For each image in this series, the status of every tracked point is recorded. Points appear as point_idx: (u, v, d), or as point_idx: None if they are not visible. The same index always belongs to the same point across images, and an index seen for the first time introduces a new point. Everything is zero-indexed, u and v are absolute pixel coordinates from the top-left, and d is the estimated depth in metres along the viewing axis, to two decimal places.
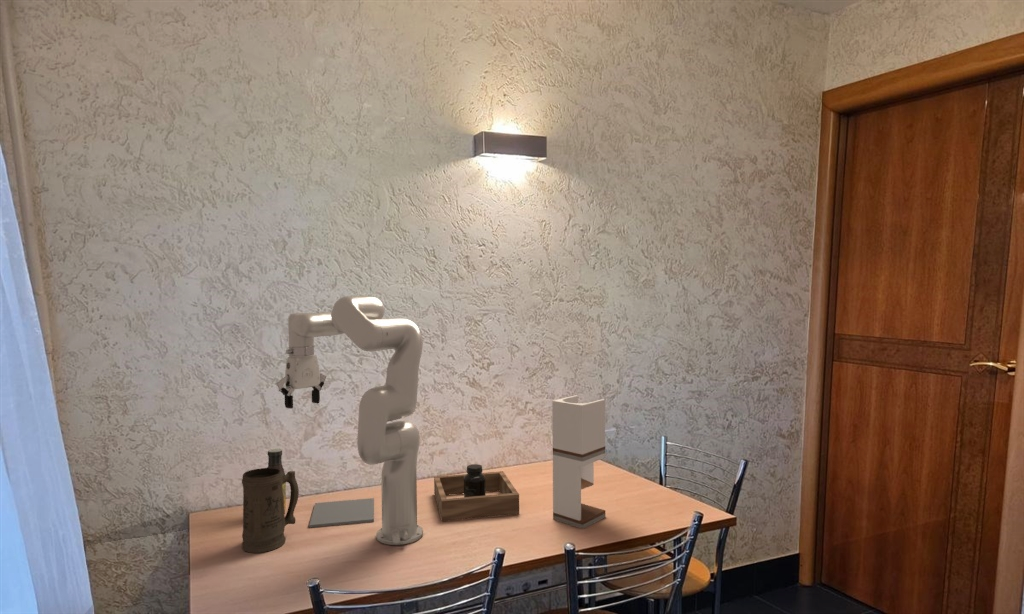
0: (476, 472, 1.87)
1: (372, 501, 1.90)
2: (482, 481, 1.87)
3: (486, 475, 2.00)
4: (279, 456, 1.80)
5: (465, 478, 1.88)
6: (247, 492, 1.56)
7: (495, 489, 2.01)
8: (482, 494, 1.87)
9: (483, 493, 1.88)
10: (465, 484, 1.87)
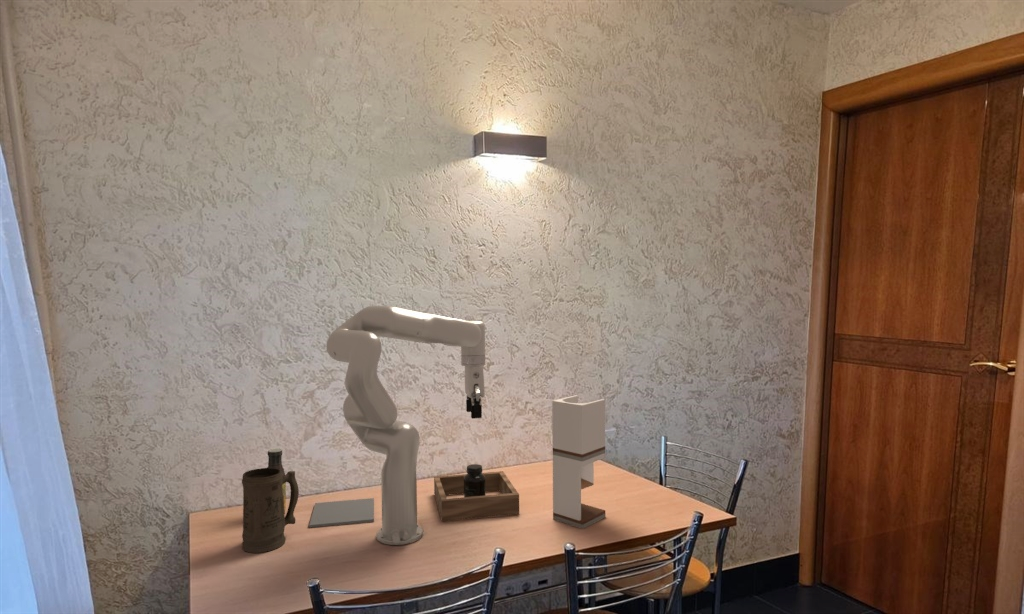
0: (476, 472, 1.87)
1: (372, 501, 1.90)
2: (482, 481, 1.87)
3: (486, 475, 2.00)
4: (279, 456, 1.80)
5: (465, 478, 1.88)
6: (247, 492, 1.56)
7: (495, 489, 2.01)
8: (482, 494, 1.87)
9: (483, 493, 1.88)
10: (465, 484, 1.87)
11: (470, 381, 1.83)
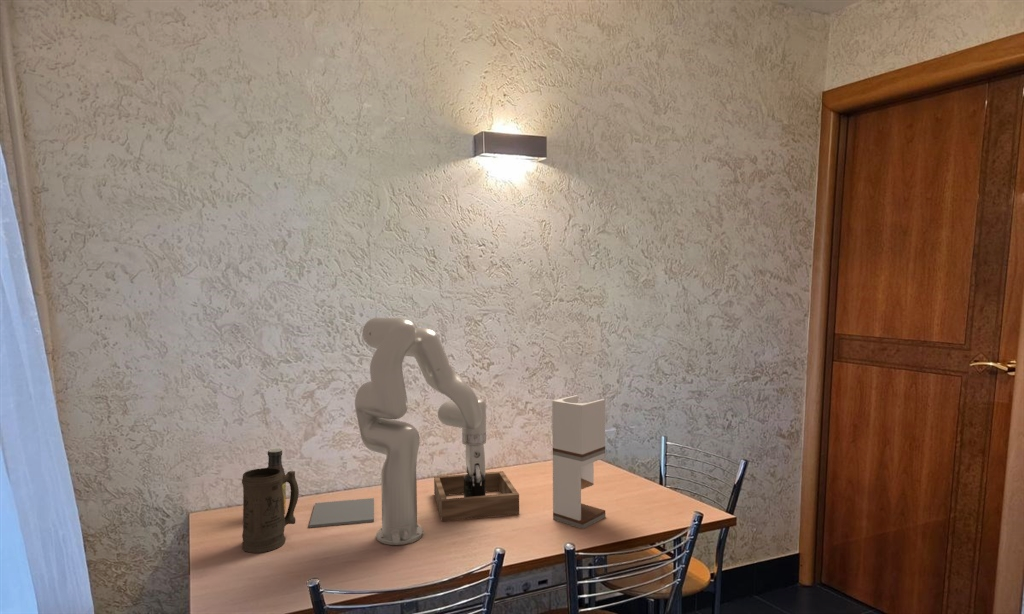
0: None
1: (372, 501, 1.90)
2: (482, 481, 1.87)
3: (486, 475, 2.00)
4: (279, 456, 1.80)
5: (465, 478, 1.88)
6: (247, 492, 1.56)
7: (495, 489, 2.01)
8: (482, 494, 1.87)
9: (483, 493, 1.88)
10: (465, 484, 1.87)
11: (471, 461, 1.84)
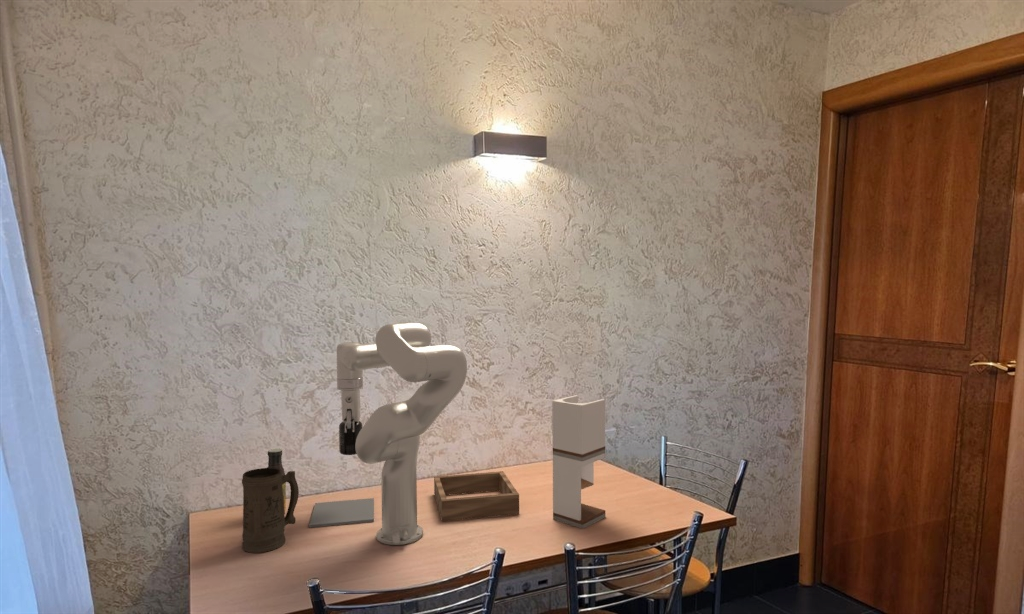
0: None
1: (372, 501, 1.90)
2: (356, 428, 1.80)
3: (486, 475, 2.00)
4: (279, 456, 1.80)
5: (340, 425, 1.81)
6: (247, 492, 1.56)
7: (495, 489, 2.01)
8: None
9: None
10: (339, 431, 1.80)
11: (343, 406, 1.77)
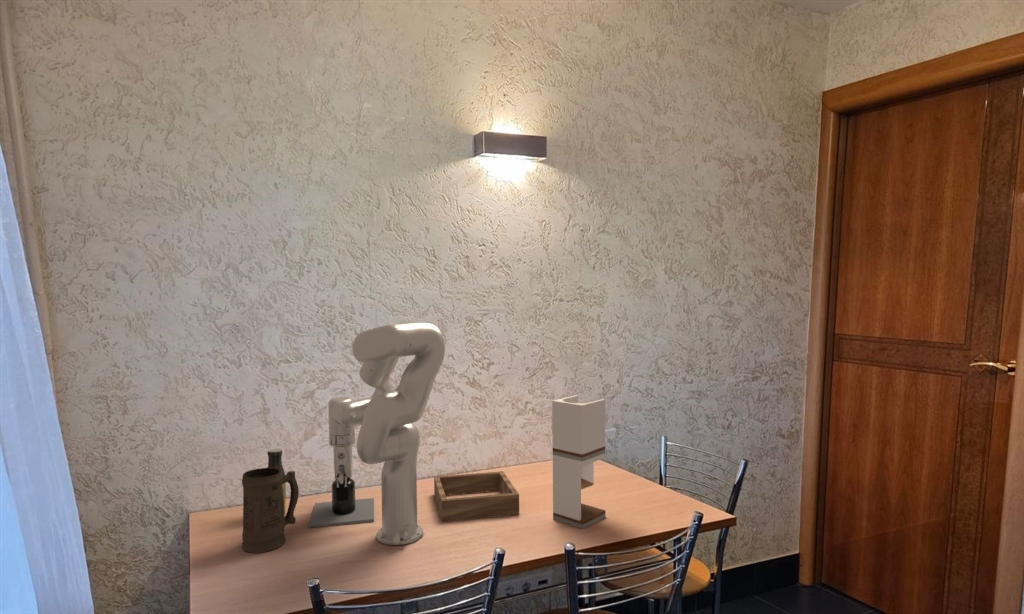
0: None
1: (372, 501, 1.90)
2: (349, 487, 1.80)
3: (486, 475, 2.00)
4: (279, 456, 1.80)
5: (332, 484, 1.80)
6: (247, 492, 1.56)
7: (495, 489, 2.01)
8: (349, 501, 1.80)
9: (352, 500, 1.81)
10: (332, 490, 1.80)
11: (335, 462, 1.77)
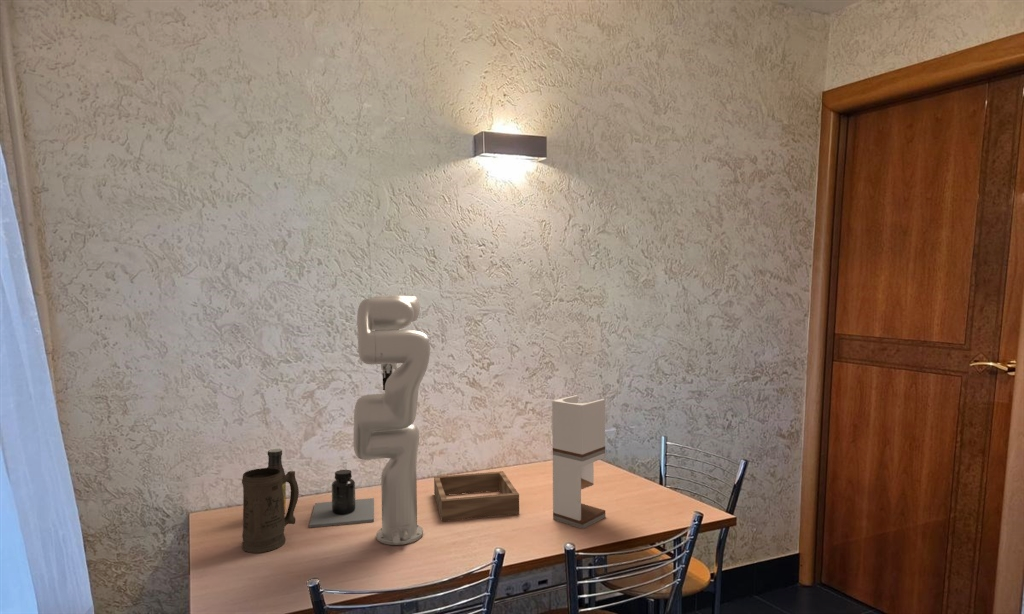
0: (343, 478, 1.80)
1: (372, 501, 1.90)
2: (349, 487, 1.80)
3: (486, 475, 2.00)
4: (279, 456, 1.80)
5: (332, 484, 1.80)
6: (247, 492, 1.56)
7: (495, 489, 2.01)
8: (349, 501, 1.80)
9: (352, 500, 1.81)
10: (332, 490, 1.80)
11: None
